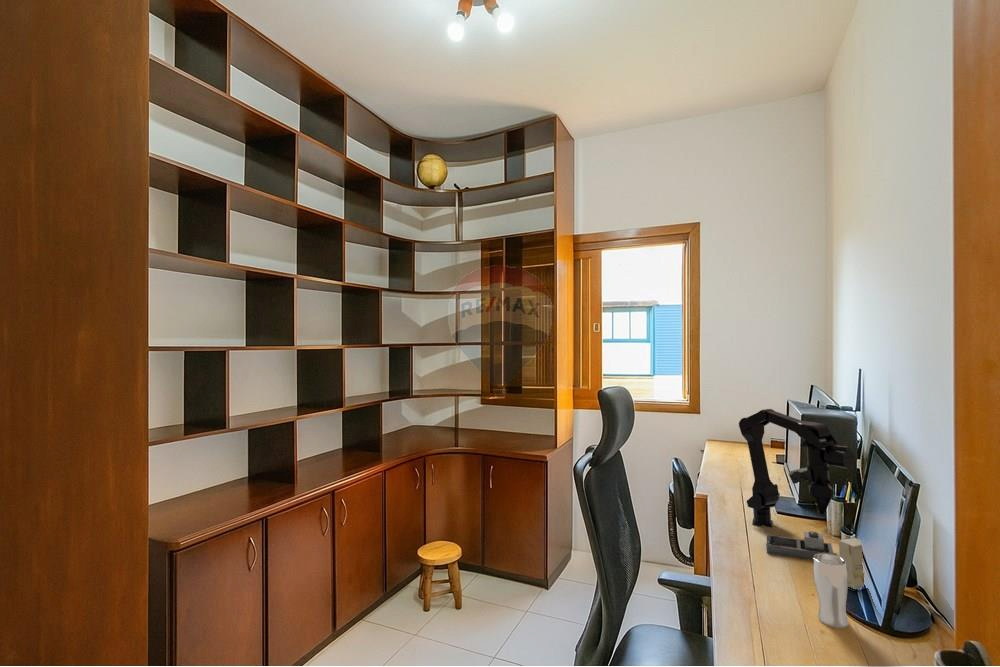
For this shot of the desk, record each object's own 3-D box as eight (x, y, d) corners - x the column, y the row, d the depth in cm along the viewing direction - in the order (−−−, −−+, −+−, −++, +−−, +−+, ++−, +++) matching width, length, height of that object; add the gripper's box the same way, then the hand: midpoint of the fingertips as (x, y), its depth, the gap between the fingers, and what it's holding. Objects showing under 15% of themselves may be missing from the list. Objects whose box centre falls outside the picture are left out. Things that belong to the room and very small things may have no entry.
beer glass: (836, 612, 120) (832, 552, 121) (858, 628, 113) (854, 564, 114) (809, 614, 120) (805, 553, 120) (829, 630, 113) (825, 566, 113)
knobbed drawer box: (805, 550, 155) (803, 529, 156) (823, 552, 153) (822, 531, 153) (805, 556, 151) (804, 534, 151) (824, 559, 149) (823, 537, 149)
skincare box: (855, 592, 129) (852, 546, 129) (840, 584, 133) (837, 540, 134) (873, 587, 131) (870, 542, 131) (857, 580, 135) (854, 536, 135)
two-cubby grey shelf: (767, 541, 163) (767, 534, 163) (831, 551, 154) (831, 543, 154) (766, 552, 155) (766, 545, 155) (834, 563, 145) (833, 555, 145)
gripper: (789, 454, 170) (791, 498, 170) (789, 466, 154) (792, 515, 154) (826, 456, 165) (829, 502, 164) (831, 470, 148) (834, 520, 148)
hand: (820, 509), depth 158 cm, fingers open, 9 cm apart
